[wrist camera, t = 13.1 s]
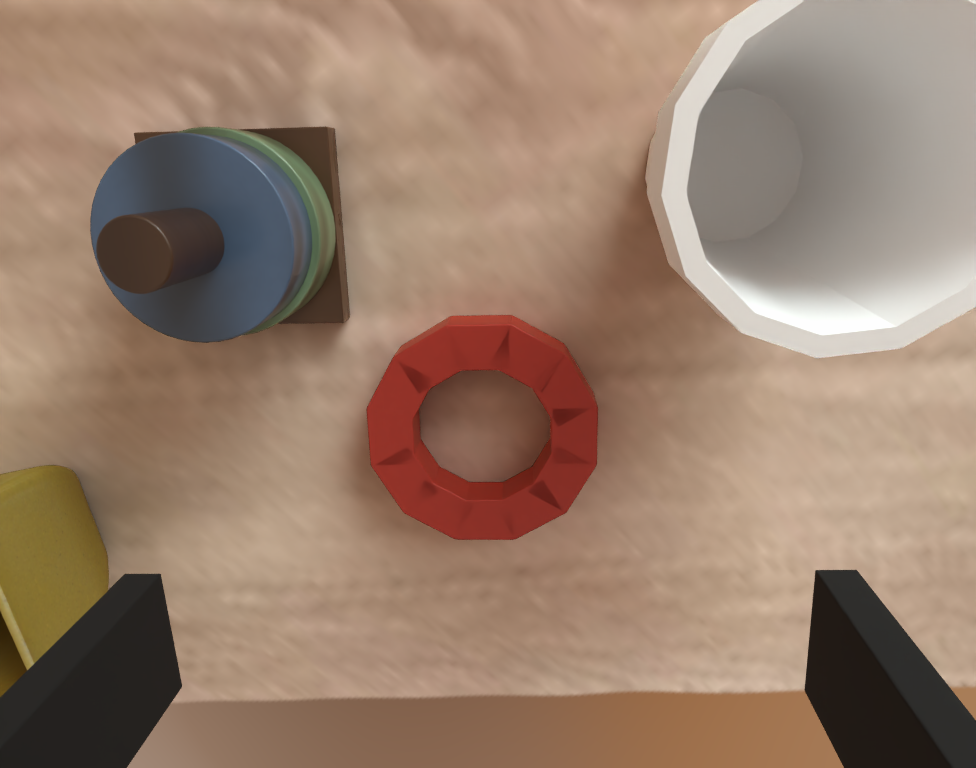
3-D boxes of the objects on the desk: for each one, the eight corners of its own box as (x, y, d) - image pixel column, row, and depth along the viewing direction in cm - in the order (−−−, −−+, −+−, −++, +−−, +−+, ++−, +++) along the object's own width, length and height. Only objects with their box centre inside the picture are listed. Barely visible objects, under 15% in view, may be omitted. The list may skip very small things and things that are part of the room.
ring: (595, 313, 32) (599, 322, 30) (591, 520, 35) (595, 540, 33) (369, 316, 33) (359, 326, 31) (384, 519, 36) (376, 540, 34)
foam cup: (775, -8, 28) (970, -145, 16) (880, 199, 30) (1127, 222, 18) (564, 136, 30) (590, 115, 18) (676, 322, 32) (771, 421, 20)
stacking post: (334, 128, 31) (246, 111, 21) (350, 317, 33) (276, 379, 23) (147, 133, 31) (-22, 119, 21) (176, 320, 33) (33, 382, 24)
